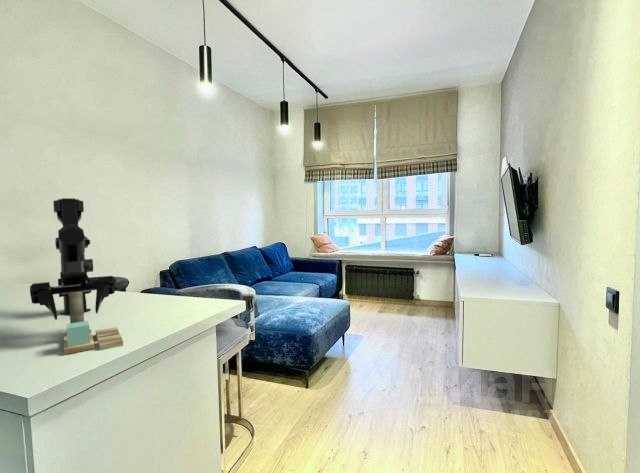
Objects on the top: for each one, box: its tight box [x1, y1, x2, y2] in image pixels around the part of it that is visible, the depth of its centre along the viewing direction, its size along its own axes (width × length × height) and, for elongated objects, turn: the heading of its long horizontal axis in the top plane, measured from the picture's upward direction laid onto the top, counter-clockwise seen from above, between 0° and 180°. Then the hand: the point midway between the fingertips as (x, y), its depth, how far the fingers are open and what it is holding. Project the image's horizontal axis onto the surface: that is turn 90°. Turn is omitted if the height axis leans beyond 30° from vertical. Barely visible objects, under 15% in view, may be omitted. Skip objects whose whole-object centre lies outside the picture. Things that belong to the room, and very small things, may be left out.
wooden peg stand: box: [63, 292, 95, 355], centre depth 89 cm, size 14×6×12 cm, turn 36°
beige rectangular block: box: [95, 326, 124, 351], centre depth 92 cm, size 14×5×1 cm, turn 36°
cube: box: [65, 320, 90, 347], centre depth 87 cm, size 4×4×4 cm
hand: (76, 315), depth 92 cm, fingers open, 8 cm apart
